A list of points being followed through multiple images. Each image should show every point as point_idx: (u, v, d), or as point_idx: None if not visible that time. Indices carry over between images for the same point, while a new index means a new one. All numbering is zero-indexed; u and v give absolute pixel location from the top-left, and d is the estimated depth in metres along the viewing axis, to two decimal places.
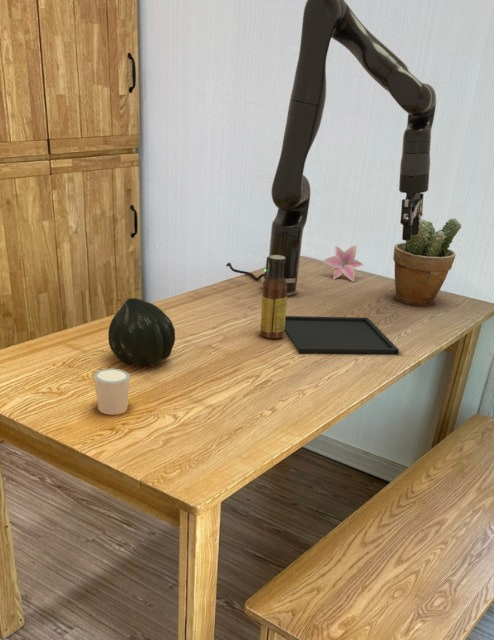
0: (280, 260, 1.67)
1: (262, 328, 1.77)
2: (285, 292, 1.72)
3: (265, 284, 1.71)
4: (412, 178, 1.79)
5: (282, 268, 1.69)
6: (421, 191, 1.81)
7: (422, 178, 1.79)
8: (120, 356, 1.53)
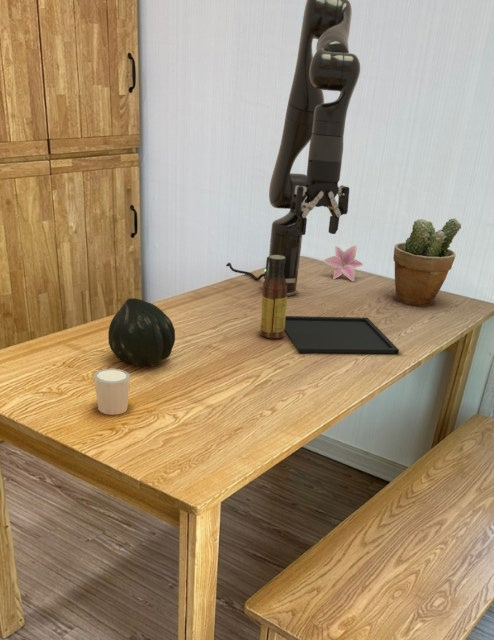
0: (280, 260, 1.67)
1: (262, 328, 1.77)
2: (285, 292, 1.72)
3: (265, 284, 1.71)
4: (311, 163, 1.54)
5: (282, 268, 1.69)
6: (320, 180, 1.54)
7: (321, 165, 1.53)
8: (120, 356, 1.53)
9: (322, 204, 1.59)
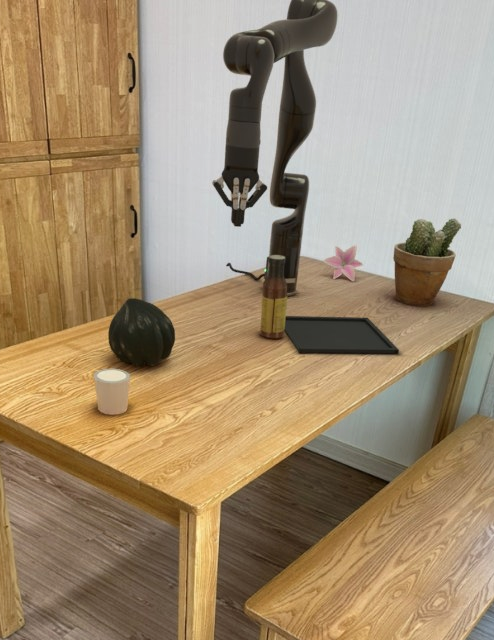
0: (280, 260, 1.67)
1: (262, 328, 1.77)
2: (285, 292, 1.72)
3: (265, 284, 1.71)
4: (226, 148, 1.53)
5: (282, 268, 1.69)
6: (232, 166, 1.53)
7: (233, 150, 1.51)
8: (120, 356, 1.53)
9: (240, 191, 1.58)
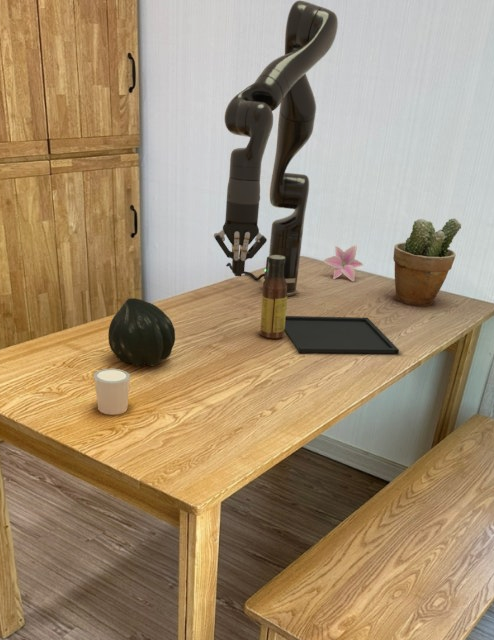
0: (280, 260, 1.67)
1: (262, 328, 1.77)
2: (285, 292, 1.72)
3: (265, 284, 1.71)
4: (227, 204, 1.59)
5: (282, 268, 1.69)
6: (233, 221, 1.59)
7: (233, 207, 1.58)
8: (120, 356, 1.53)
9: (240, 243, 1.64)
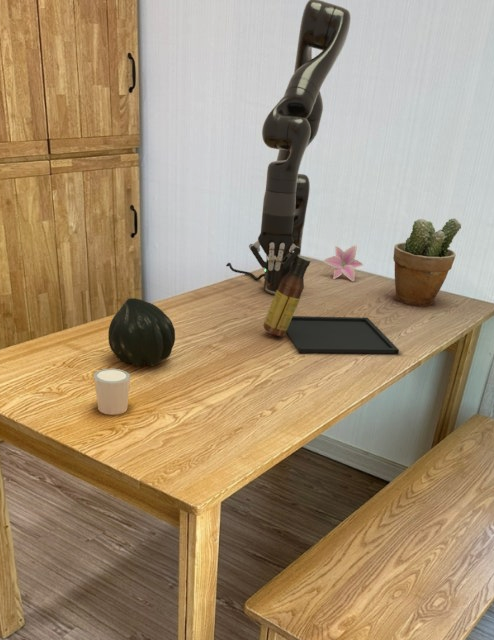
0: (306, 261, 1.69)
1: (267, 321, 1.76)
2: (300, 293, 1.73)
3: (284, 280, 1.71)
4: (263, 215, 1.62)
5: (305, 270, 1.71)
6: (269, 232, 1.63)
7: (270, 218, 1.61)
8: (120, 356, 1.53)
9: (275, 254, 1.67)
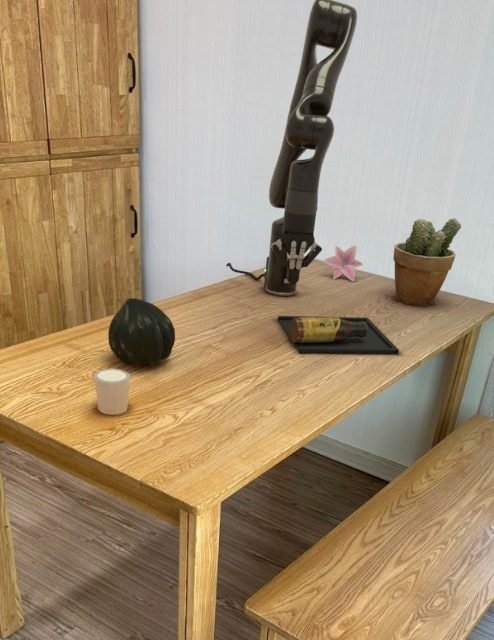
0: None
1: (303, 341, 1.74)
2: None
3: (344, 338, 1.77)
4: (285, 214, 1.63)
5: None
6: (291, 231, 1.63)
7: (292, 217, 1.62)
8: (120, 356, 1.53)
9: (296, 252, 1.68)
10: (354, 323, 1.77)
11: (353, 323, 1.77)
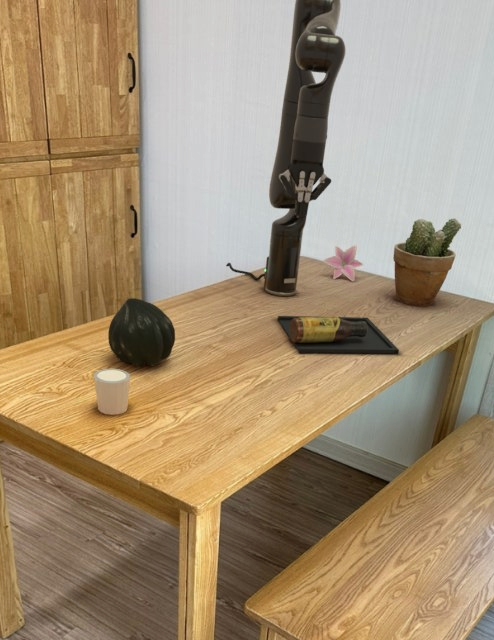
0: None
1: (303, 340, 1.74)
2: None
3: (344, 337, 1.77)
4: (293, 142, 1.58)
5: None
6: (300, 160, 1.59)
7: (301, 145, 1.57)
8: (120, 356, 1.53)
9: (305, 184, 1.63)
10: (354, 323, 1.78)
11: (353, 323, 1.77)
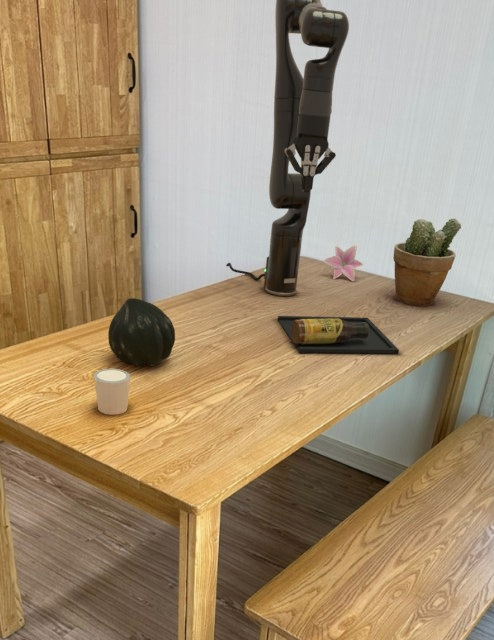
0: None
1: (303, 344, 1.74)
2: None
3: (344, 341, 1.77)
4: (299, 117, 1.63)
5: None
6: (305, 134, 1.63)
7: (306, 119, 1.61)
8: (120, 356, 1.53)
9: (310, 158, 1.68)
10: (356, 326, 1.76)
11: (355, 326, 1.76)
